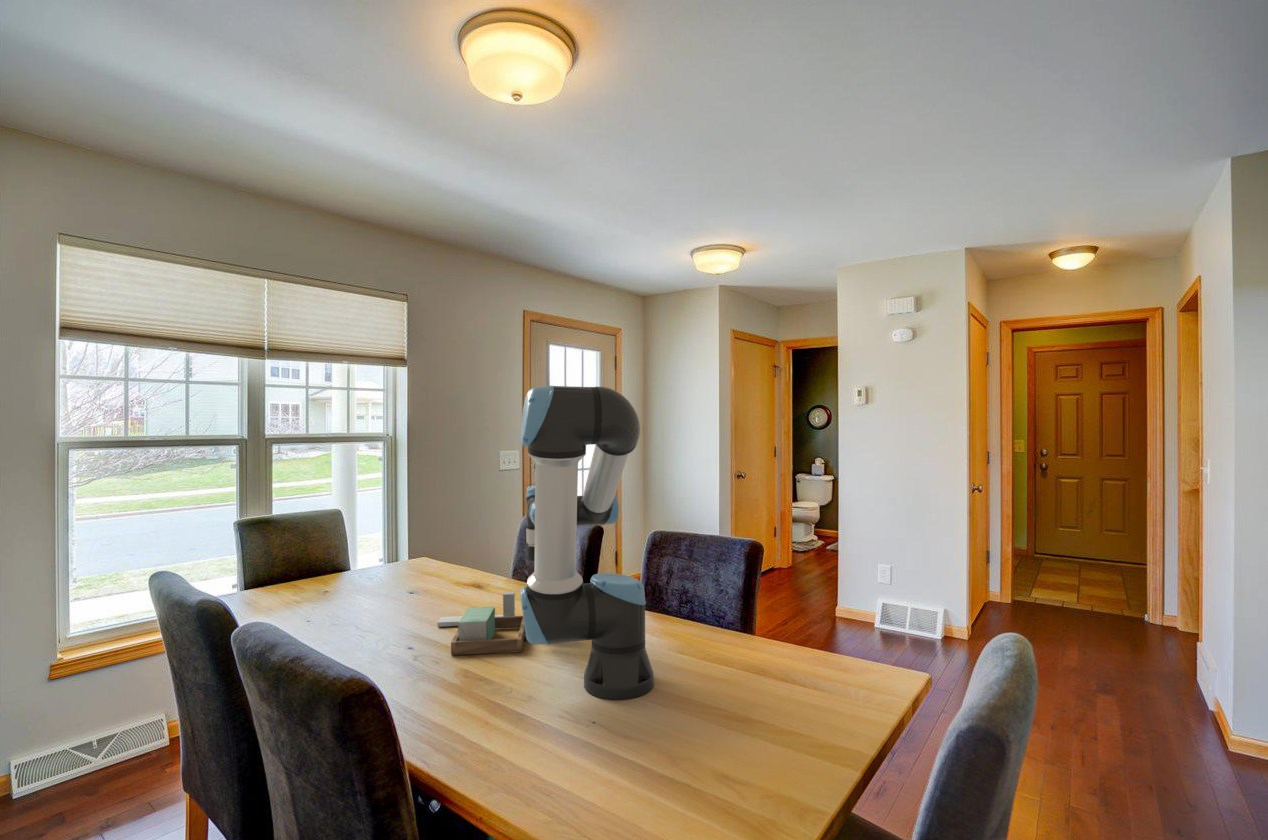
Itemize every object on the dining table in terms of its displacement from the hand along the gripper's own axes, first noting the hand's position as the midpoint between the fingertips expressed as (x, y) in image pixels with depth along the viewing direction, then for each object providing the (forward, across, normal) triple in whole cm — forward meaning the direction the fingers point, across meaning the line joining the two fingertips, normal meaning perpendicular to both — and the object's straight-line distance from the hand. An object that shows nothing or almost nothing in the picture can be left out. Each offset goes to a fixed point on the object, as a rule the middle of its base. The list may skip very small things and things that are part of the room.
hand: (541, 625), depth 160 cm
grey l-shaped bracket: (+3, +15, +19) cm, 24 cm away
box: (+4, 0, +17) cm, 17 cm away
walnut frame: (+3, 0, +10) cm, 10 cm away
